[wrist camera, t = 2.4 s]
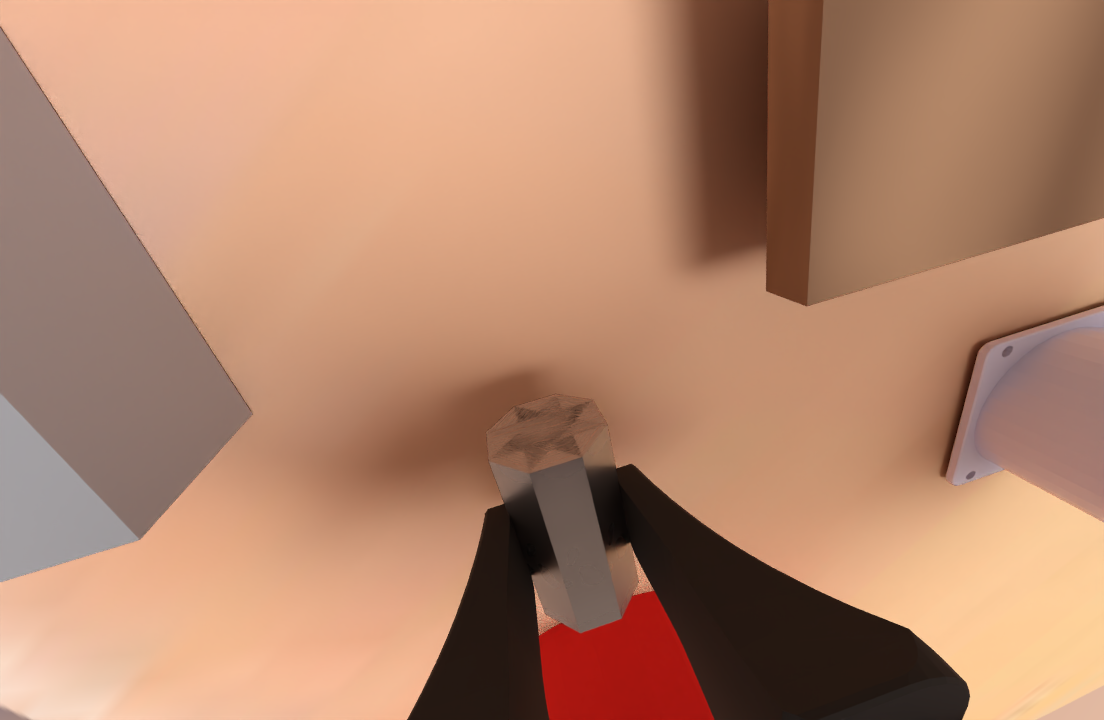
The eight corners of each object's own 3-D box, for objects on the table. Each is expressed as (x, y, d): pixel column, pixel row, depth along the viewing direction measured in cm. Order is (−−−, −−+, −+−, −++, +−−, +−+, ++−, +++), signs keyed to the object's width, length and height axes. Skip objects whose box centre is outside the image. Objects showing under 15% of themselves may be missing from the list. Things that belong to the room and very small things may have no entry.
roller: (584, 385, 12) (619, 445, 9) (615, 529, 15) (650, 608, 12) (484, 415, 12) (490, 485, 9) (534, 555, 14) (550, 643, 12)
